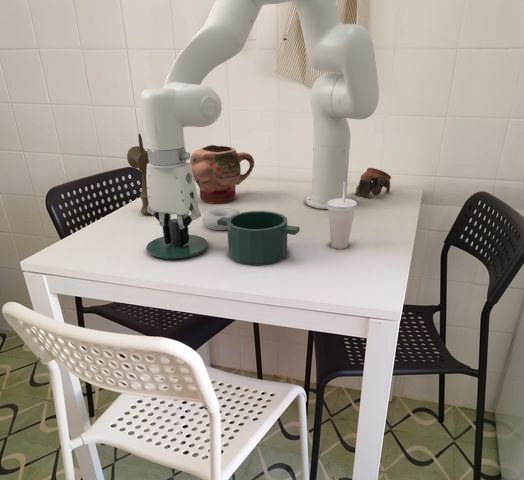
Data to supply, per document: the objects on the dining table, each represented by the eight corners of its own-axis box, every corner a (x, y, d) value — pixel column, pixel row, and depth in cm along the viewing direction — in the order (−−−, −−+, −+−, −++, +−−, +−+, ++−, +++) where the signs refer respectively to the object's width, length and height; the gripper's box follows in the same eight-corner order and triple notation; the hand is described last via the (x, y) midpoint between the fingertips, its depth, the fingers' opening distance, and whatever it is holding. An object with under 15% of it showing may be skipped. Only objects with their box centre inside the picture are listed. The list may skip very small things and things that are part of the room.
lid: (168, 235, 120) (165, 208, 117) (218, 243, 116) (216, 214, 112) (134, 256, 110) (129, 226, 106) (188, 265, 105) (185, 234, 102)
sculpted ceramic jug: (244, 188, 154) (242, 140, 147) (263, 198, 145) (262, 147, 138) (182, 198, 146) (177, 148, 139) (199, 209, 137) (194, 156, 130)
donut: (197, 231, 123) (237, 232, 121) (196, 217, 121) (236, 218, 119) (209, 218, 131) (247, 219, 129) (208, 205, 129) (246, 206, 127)
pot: (234, 239, 118) (232, 207, 114) (306, 249, 111) (307, 215, 107) (208, 258, 108) (205, 224, 104) (286, 271, 102) (286, 235, 98)
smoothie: (335, 252, 109) (339, 187, 102) (319, 243, 114) (322, 180, 106) (359, 247, 112) (365, 182, 104) (342, 238, 116) (347, 176, 109)
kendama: (146, 219, 131) (134, 137, 120) (133, 210, 138) (121, 132, 127) (168, 215, 133) (158, 134, 123) (154, 206, 140) (143, 129, 129)
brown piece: (348, 193, 149) (359, 166, 148) (375, 206, 152) (386, 179, 150) (364, 193, 138) (376, 163, 136) (392, 207, 141) (405, 178, 139)
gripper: (211, 155, 102) (217, 242, 112) (144, 150, 108) (155, 233, 118) (192, 163, 96) (200, 254, 106) (122, 157, 102) (136, 244, 112)
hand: (177, 242), depth 112 cm, fingers closed on lid, 2 cm apart
